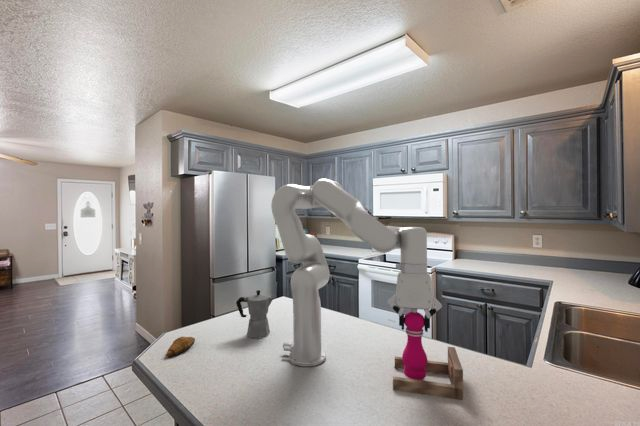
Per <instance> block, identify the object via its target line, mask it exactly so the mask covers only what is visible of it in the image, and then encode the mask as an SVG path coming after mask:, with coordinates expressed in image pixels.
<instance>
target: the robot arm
mask: <svg viewBox="0 0 640 426" xmlns="http://www.w3.org/2000/svg"><path fill="white" fill-rule="evenodd" d="M322 207H324V209H326V210H327V211H329V212H330V213H331V214H332V215H333V216H335V217H337V219H339V220H340V221H342V223H343V224H344V225H345V226H346V227H347V228H348V229H349V230H350V231H351V232H352V233H353V234H354V236H356V237H357V238H359V240H361V241H362V242H363V243H365V244H367V246H369V247H371V248H372V249H374V251H376V252H379V253H382V254H387V253H389V252H391V251H394V250H397V249H398V250H399V249H400V262H399V263H396V264H395V269H398V270H400V271H398V273H397V278H396V292H395V293H394V294H393V296H391V297H390V298H389V299H388V300H387V304H388V305H389V306H390V308H392V309H393V311H394V312H395V313H396V314H397V315H398V326H399V327H401V330H405V324H404V317H405V313H404V311H405V309H410V310H411V309H417V310H423V311H424V313H425V314H424V315H423V317H424V319H425V325H424V327H423V328H424V332H425V333H428V331H429V330H428V329H431V318H432V317H433V316H434V314H436V313H437V312H438V311H439V310H440V309H441V308H442V307H443V305H442V303H441V302H440V301H439V300H438V299H437V298H436V297H435V296H434V295H433V285H432V277H431V274H430V273H429V272H428V240H427V239H428V235H427V233H428V232H427V230H426V228H424V227H421V226H405V227H401V226H394V225H393V226H392V225H385V224H384V223H382V222H381V221H379V220H377V219H376V218H374V217H373V216H372V215H371V214H369V213H368V211H367V210H366V209H365V208H364V206H363V204H362V202H361V201H360V200H359V199H357V198H356V197H355V196H353V195H352V194H350V193H349V192H347V191H346V190H344V188H343V186H342V184H341V183H339V182H338V181H336V180H331V179H328V178H320V179H318V180H317V181H315V182H314V183H313V185H307V186H306V185H299V184H295V183H287V184H284V185H282V186H281V187H278V189H277V190H276V191H275V192H274V194H273V196H272V199H271V208H270V209H271V212H272V216H273V219H274V222H275V225H276V227H277V229H278V234H279V237H280V240H281V244H282V247H283V250H284V254H285V255H286V258H287V259H288V261H289V262H291V263H292V264H293V263H294V264H299V263H301V264H302V266H299V267H298V268H297V269H295V270H294V271H293V273H292V274H291V278H290V289H291V290H290V291H291V295H292V311H293V312H292V313H293V317H292V318H293V320H292V321H293V330H292V331H293V333H292V334H293V341H292V342H289V341H288V342H286V341H284V342H283V343H282V348H283V351H284V352H289V354H288V359H289V362H290V363H292V364H293V365H296V366H299V367H307V368H308V367H315V366H318V365H320V364H323V363H324V362H325V360H326V357H327V354H326V352H325V351H324V350H323V349H322V305H321V297H320V293H319V290H320V289H322V288H323V287H325V286H326V285H327V284H328V282H329V280H330V277H331V275H330V274H331V272H330V268H329V265H328V263H327V262H328V261H327V259H326V256H325V253H324V250H323V247H322V244H321V243H320V240H319V239H318V238H317V237H316V236H314V235H312V234H309V233H308V234H307V233H305V230H304V228H303V227H304V226H303V223H302V220H301V219H300V217H299V216H298V213H296V210H308V209H315V208H322ZM395 301H396V303H395ZM433 305H434V306H433Z"/></svg>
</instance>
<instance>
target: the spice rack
mask: <svg viewBox="0 0 640 426" xmlns="http://www.w3.org/2000/svg"><path fill="white" fill-rule="evenodd" d="M427 361H428V363H427V366H426V367H425V369H426V373H431V374H438V375H446V376H448V379H449V381H450V383H445V382H444V383H443V382H437V381H428V380H424V379H422V380H416V379H410V378H408V377H400V376H392V390H393V391H398V392H404V393H411V394H417V395H425V396H432V397H438V398H444V399H445V398H446V399H451V400H457V401H464V369H463V366H462V364H461V360H460V358H459V356H458V353H457V350H456V347H455V346H447V362H445V361H444V362H443V361H437V360H429V359H427ZM404 366H405V365H404V363H403V361H402V356H394V368H395V369H400V370H404Z"/></svg>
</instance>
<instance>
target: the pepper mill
mask: <svg viewBox="0 0 640 426" xmlns="http://www.w3.org/2000/svg"><path fill="white" fill-rule="evenodd" d="M410 310H411V311H408V312H407V313H406V314H404V326H406V327H405V334H406V335H407V342H406V345H405V348H404V350H403V352H402V356H401V357H402V361H403V363H404V365H405V366H404V369H403V374H404V375H405V377H406V378H409V379H416V380H424V379H425V378H426V377H427V372H426V369H425V367H426V366H427V363H428V361H427V360H428V356H427V354H426V352H425V349H424V346H423V343H422V342H423V341H422V337H423V335H424V329H423V328H425V327H424V325H425V319H424V315H423V314H422V313H420V312H418V309H410Z"/></svg>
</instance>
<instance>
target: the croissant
mask: <svg viewBox="0 0 640 426" xmlns="http://www.w3.org/2000/svg"><path fill="white" fill-rule="evenodd" d="M194 343H196V339H195V337H193V336H179V337H178V338H175V340H173V342H172V344H170V346H169V347H168V349H167V352H166V357H167V358H170V357H171V358H172V357H175V356H177V355H180V354H181V353H183V352H185V351H187V350H189V348H190V347H191V346H193V345H194Z"/></svg>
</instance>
